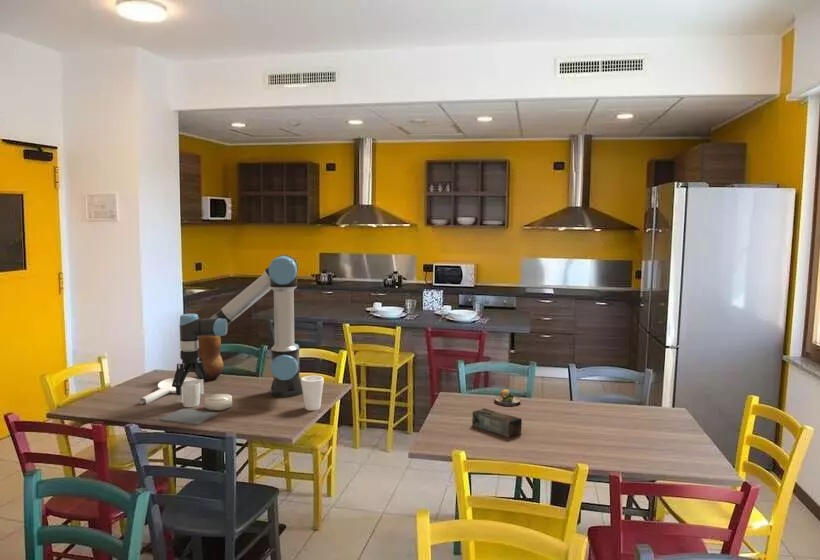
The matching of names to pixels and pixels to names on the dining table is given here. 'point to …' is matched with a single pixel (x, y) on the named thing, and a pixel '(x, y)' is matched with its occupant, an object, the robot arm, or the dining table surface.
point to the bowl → (218, 401)
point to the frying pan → (162, 390)
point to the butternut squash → (211, 355)
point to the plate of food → (506, 399)
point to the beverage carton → (497, 422)
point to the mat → (189, 416)
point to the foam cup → (312, 391)
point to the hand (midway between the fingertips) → (190, 397)
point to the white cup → (191, 393)
